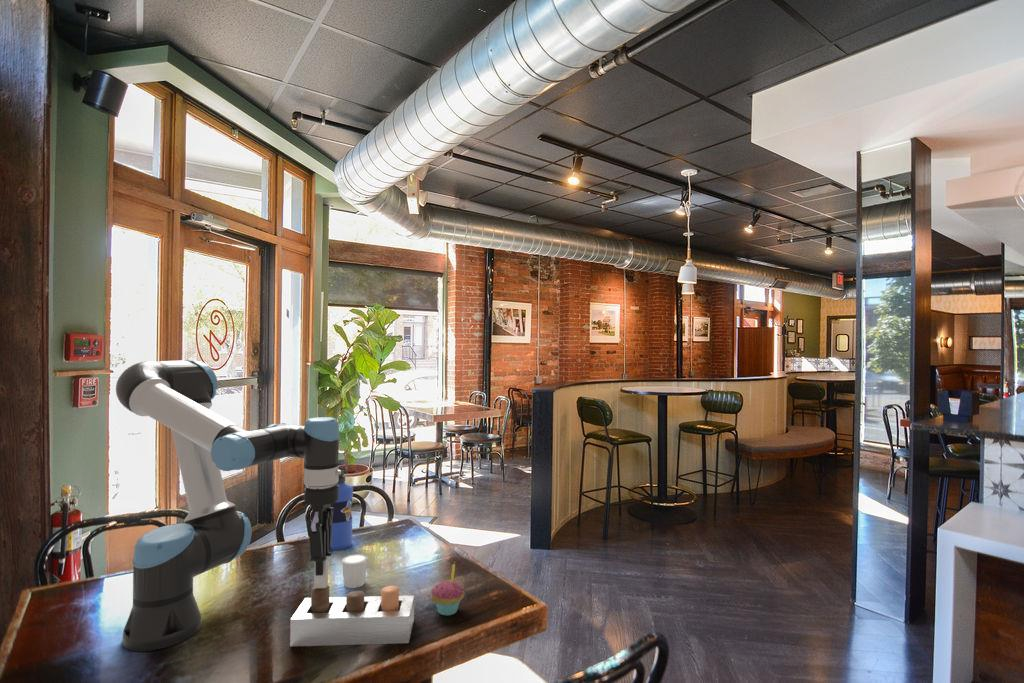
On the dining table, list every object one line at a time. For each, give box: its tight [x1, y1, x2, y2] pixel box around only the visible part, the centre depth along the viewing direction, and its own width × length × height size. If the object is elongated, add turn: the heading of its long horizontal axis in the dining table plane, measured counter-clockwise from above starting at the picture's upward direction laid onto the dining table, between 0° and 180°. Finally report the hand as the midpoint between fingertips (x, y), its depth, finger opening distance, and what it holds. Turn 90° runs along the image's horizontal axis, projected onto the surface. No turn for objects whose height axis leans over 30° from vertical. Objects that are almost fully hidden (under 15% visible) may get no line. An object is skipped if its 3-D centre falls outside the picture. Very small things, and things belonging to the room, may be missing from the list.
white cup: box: [341, 553, 368, 589], centre depth 149 cm, size 7×7×7 cm
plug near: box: [310, 584, 331, 613], centre depth 123 cm, size 4×4×7 cm
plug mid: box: [345, 590, 365, 612], centre depth 123 cm, size 4×4×7 cm
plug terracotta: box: [380, 585, 400, 611], centre depth 124 cm, size 4×4×7 cm
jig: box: [289, 595, 415, 648], centre depth 123 cm, size 26×10×6 cm, turn 94°
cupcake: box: [430, 561, 466, 616], centre depth 133 cm, size 9×8×12 cm
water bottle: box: [329, 469, 354, 552], centre depth 177 cm, size 9×9×25 cm
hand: (320, 586), depth 122 cm, fingers closed
